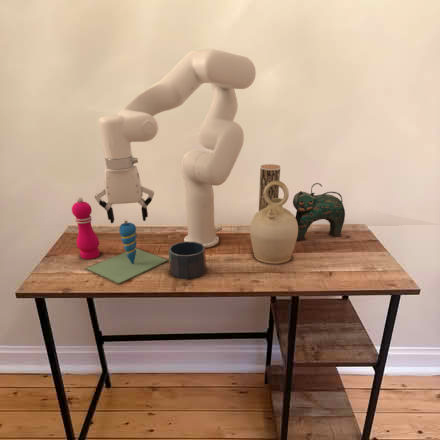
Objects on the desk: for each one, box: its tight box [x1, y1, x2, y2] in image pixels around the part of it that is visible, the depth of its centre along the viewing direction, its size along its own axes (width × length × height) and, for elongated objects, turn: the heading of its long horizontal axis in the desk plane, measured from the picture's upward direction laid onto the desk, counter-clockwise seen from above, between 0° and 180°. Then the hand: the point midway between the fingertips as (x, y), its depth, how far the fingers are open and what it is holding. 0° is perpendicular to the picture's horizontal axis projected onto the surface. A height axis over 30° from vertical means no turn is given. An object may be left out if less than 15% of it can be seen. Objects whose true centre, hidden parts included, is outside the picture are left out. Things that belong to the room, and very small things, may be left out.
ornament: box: [118, 220, 137, 264], centre depth 126 cm, size 5×5×15 cm
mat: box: [86, 248, 169, 285], centre depth 130 cm, size 20×16×1 cm
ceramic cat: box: [292, 182, 346, 242], centre depth 144 cm, size 20×6×20 cm, turn 104°
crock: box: [168, 241, 207, 280], centre depth 124 cm, size 11×11×8 cm
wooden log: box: [258, 163, 281, 212], centre depth 145 cm, size 7×7×25 cm
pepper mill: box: [71, 196, 100, 260], centre depth 132 cm, size 7×7×20 cm
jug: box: [249, 180, 298, 265], centre depth 128 cm, size 15×16×25 cm
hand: (128, 220), depth 123 cm, fingers open, 9 cm apart
